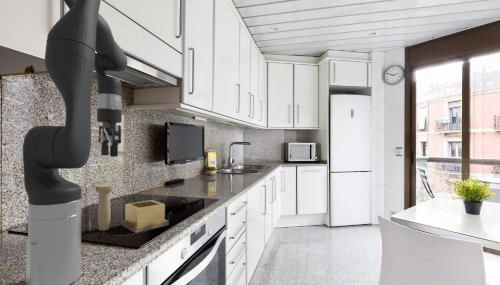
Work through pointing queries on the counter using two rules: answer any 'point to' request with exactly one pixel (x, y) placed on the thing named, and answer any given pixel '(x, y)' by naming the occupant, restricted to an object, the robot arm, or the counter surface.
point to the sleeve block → (144, 216)
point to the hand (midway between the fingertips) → (109, 155)
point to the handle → (104, 205)
